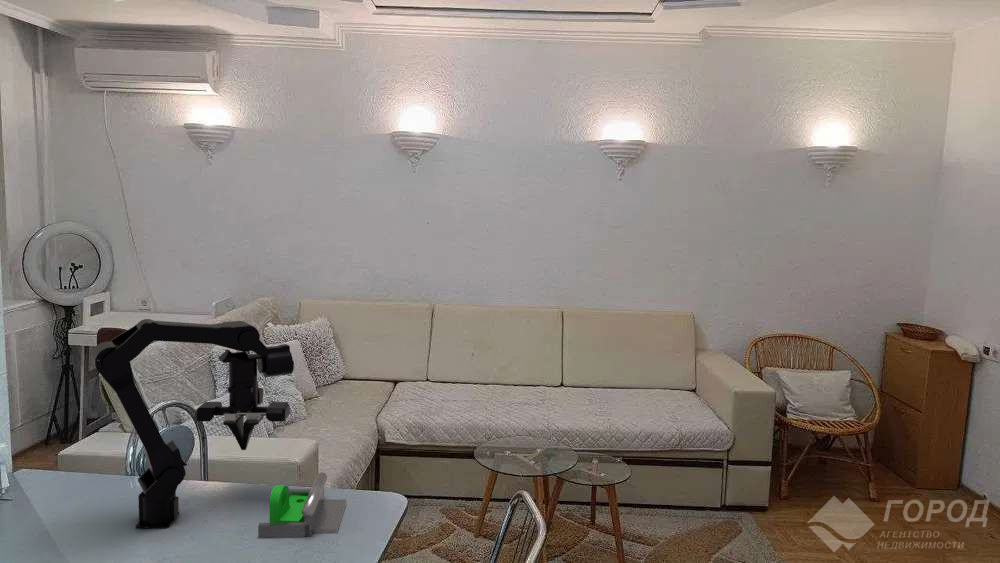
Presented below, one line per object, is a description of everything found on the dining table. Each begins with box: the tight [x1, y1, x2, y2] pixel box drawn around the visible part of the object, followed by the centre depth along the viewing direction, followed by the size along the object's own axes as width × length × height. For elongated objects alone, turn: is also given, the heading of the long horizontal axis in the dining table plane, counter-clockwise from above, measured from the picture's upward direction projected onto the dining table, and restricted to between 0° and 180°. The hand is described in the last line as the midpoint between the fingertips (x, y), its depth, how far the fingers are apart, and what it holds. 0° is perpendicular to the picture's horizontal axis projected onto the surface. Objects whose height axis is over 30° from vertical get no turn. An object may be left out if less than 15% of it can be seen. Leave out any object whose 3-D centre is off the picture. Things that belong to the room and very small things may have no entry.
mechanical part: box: [269, 484, 308, 523], centre depth 148 cm, size 12×6×8 cm, turn 176°
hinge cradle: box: [257, 472, 347, 539], centre depth 147 cm, size 15×17×6 cm
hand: (244, 449), depth 152 cm, fingers closed
